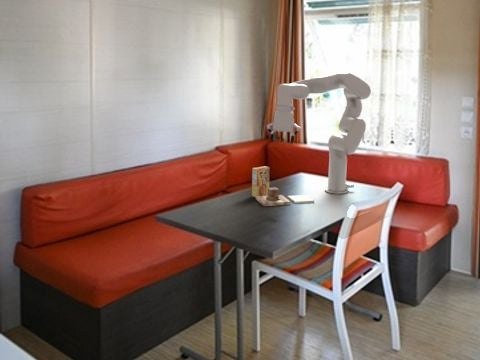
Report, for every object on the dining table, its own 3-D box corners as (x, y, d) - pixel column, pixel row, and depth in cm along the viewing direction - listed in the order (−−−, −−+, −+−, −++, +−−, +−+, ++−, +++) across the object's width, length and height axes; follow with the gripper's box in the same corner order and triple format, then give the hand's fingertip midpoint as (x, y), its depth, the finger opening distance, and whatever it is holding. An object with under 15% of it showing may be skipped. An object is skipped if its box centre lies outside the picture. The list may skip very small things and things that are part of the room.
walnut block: (275, 200, 279) (276, 187, 277) (278, 202, 274) (278, 189, 273) (267, 201, 278) (267, 187, 276) (270, 203, 273) (270, 189, 272)
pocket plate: (281, 197, 284) (281, 194, 284) (290, 204, 271) (290, 201, 271) (255, 199, 281) (255, 196, 281) (263, 206, 268) (263, 203, 267)
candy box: (264, 193, 292) (264, 165, 288) (269, 195, 289) (269, 167, 285) (251, 196, 286) (251, 167, 283) (256, 197, 283) (257, 169, 280)
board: (305, 196, 287) (305, 194, 286) (314, 202, 275) (314, 200, 275) (287, 197, 284) (287, 195, 284) (295, 203, 273) (295, 201, 273)
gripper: (302, 109, 274) (300, 143, 277) (268, 107, 278) (266, 140, 281) (300, 110, 267) (298, 144, 270) (266, 108, 270) (264, 142, 274)
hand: (282, 142), depth 276 cm, fingers open, 9 cm apart
